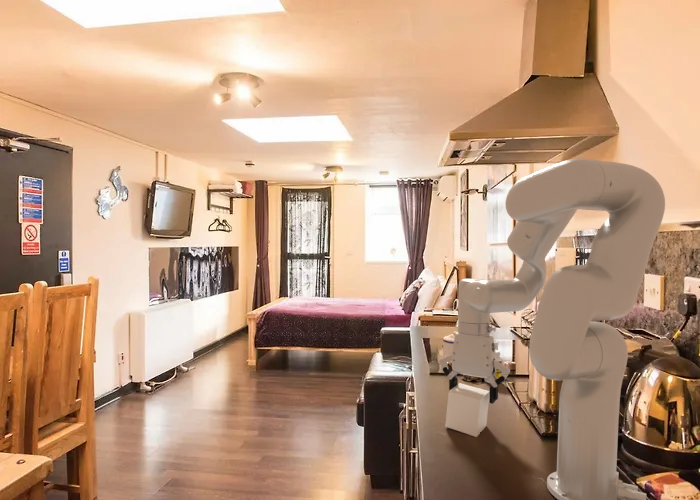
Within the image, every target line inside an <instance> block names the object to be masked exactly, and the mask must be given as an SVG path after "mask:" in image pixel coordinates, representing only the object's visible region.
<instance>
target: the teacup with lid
mask: <svg viewBox="0 0 700 500" xmlns="http://www.w3.org/2000/svg"><path fill="white" fill-rule="evenodd" d="M457 332H458V331H453V332H452V333H451V334H449V335H446V336H444V337H443V338H442V341H443V343H442V345H443V347H442V359H443V358H445V357H448V356H450V355H452V351H453V344H454V338H455V334H456V333H457ZM449 362H452V361H449Z"/></svg>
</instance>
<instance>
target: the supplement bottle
mask: <svg viewBox="0 0 700 500" xmlns="http://www.w3.org/2000/svg"><path fill="white" fill-rule="evenodd" d="M495 352H496V361H498V362H499V363H501V364H503V357H501V351H500V350H499V349H498V350H495ZM501 374H502V372H501V371H500V370H499V369H497V368H496V373H495V376H496V377H497V378H499V377H500V376H501ZM483 381H484V382H485V383H487V384H490V385H491V383H490V382H489V381H488V379H487V378H483Z"/></svg>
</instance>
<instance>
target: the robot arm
mask: <svg viewBox="0 0 700 500" xmlns="http://www.w3.org/2000/svg"><path fill="white" fill-rule="evenodd" d="M665 197H666V196H665V192H664V191H663V188H662V186H661V184H660V183H659V181H658V180H657V179H656V177H654V176H653V175H652V174H651V173H649V172H648V171H646V170H644V169H642V168H641V167H638V166H635V165H631V164H628V163H624V162H623V163H622V162H617V161H609V160H607V161H606V160H601V159H600V160H598V159H591V158H580V157H579V158H571V159H567V160H564V161H561V162H559V163H556V164H553V165H551V166H548V167H546V168H544V169H541V170H539V171H536V172H533V173H531V174H529V175H526V176H524V177H522V178H520V179H519V180H518V181H516V182H515V183H514V184H513V185H512V186H511V187H510V189H509V190H508V192H507V194H506V198H505V210H506V213H507V214H508V216H509V217H510V218H511V219H513V220H514V221H517V222H516V224H515V225H514V226H513V227H514V228H512V231H511V232H510V234H509V236H508V237H507V240H506V243H507V247H508V248H509V250H510V251H511V253H513V255H515V256H516V257H518V258H519V259H520V260H522V261H523V262H522V264H521V267H520V268H519V270H518V272H517V273H516V275H515V276H514V277H513V279H483V278H463V279H461V280H460V281H459V282H458V291H457V293H458V295H457V296H458V299H457V301H458V305H457V307H458V309H457V320H458V321H457V331H456V332H457V333H456V334H455V338H454V344H453V351H452V355H450V356H448V357H445V358H443V357H442V358H441V359H439V365H440V367H441V368H442V372H443V373H444V374H445V375H446V376H447V379H448V380H449V381H448V389H449V390H448V392H449V391H450V390H451V389H452V388H454V387H455V386H456V385H458V384H459V382H458V381H459V379H458V377H457V375H458V374H459V375H469V376H476V377H482V379H484V378H487V379H488V381H489V382H490V383H491V384H490V383H489V384H490V386H489V391H490V394H489V404H492V405H493V404H494V403H496V401H497V400H498V399H499V386H500V385H501V384H502V383H503V382H505V380H506V379H507V377H508V376H509V374H510V372H511V369H510V368H509V367H507V366H506V365H504V364H503V363H502V364H501V363H499V362H498V361H496V352H495V343H494V341H495V339H494V335H492V334H491V333H492V332H493V333H495V332H496V326H495V325H491V321H490V319H491V314H495V313H506V312H507V313H509V312H511V313H512V312H519V311H523V310H525V309H526V308H527V307H529V306H530V305H531V304H532V303H533V301H534V300H535V299H536V297H537V296H538V295H539V293H540V292H541V291H542V292H541V295H540V297H539V303H538V306H537V310H536V313H535V319H534V322H533V327H532V329H531V332H530V333H531V334H530V338H529V348H528V349H529V358H530V361H531V364H532V366H533V367H534V369H535V371H536V372H537V373H538V374H539V375H541V376H542V377H544V378H546V379H547V380H551V381H552V380H553V381H559V382H560V381H562V383H561V388H560V392H559V402H558V403H559V405H558V424H557V425H558V428H557V429H558V431H557V453H556V471H554V472H552V473H550V474H549V475H548V476H547V479H546V486H547V490H548V491H549V492H550V494H551V495H552V496H554V498H555V499H557V500H647V493H645V492H642V491H639V486H638V485H634V484H629V483H625V482H623V480H621V479H619V474H620V473H619V471H617V465H618V464H617V461H618V439H619V417H620V402H621V391H622V390H621V389H622V385H623V379H624V376H625V373H626V368H627V363H628V359H629V358H628V357H629V355H628V350H629V349H628V345H627V342H626V339H625V337H624V336H623V335H622V333H621V332H620V331H619V330H617V329H616V328H615V327H614V326H612V325H610V324H608V323H606V322H601V321H608V320H609V321H611V320H616V319H620V318H623V317H626V316H627V315H628V314H629V313H630V312H631V311H633V308H634V306H635V303H636V301H637V298H638V294H639V291H640V288H641V284H642V282H643V278H644V275H645V272H646V270H647V267H648V263H649V258H650V255H651V251H652V248H653V245H654V242H655V239H656V238H657V235H658V232H659V230H660V227H661V224H662V222H663V218H664V214H665V211H666V210H665V209H666V198H665ZM578 210H585V211H599V212H603V211H604V212H607V213H608V214H609V215H608V217H607V219H606V220H605V221H604V222H603V224H602V225H601V226H600V227H599V229H598V231H597V232H596V233H595V236H594V238H593V241H592V245H591V250H590V253H589V256H588V258H587V261H586V262H585V264H573V265H572V264H571V265H567V266H563V267H561V268H558V269H557V270H555V271H554V272H553V273H552V274H551V275H550V276H549V277H548V279H547V280H546V277H547V263H546V257H547V256H548V254H549V252H551V250H552V248H553V246H554V245H555V243H556V242H557V241H558V239H559V237H560V236H561V234H563V232H564V230H565V229H566V227H567V226H568V224H570V222H571V220H572V218H573V217H574V216H575V214H576V212H577V211H578ZM449 361H452V365H451V368H450V367H449V365H448V364H447V362H449ZM496 368H497V369H499V370H500V371H501V372H502V374H501V376H500V377H499V378H497V377H496V376H495V373H496Z"/></svg>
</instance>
